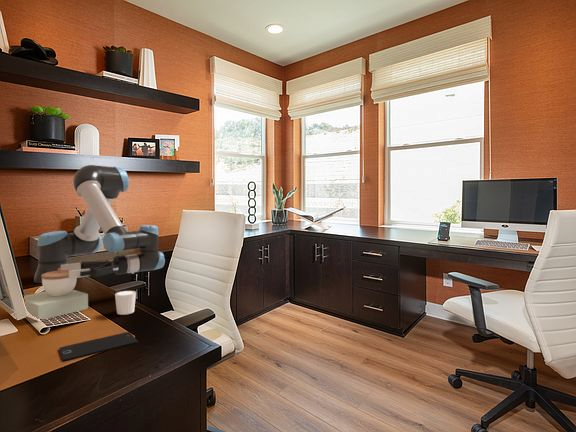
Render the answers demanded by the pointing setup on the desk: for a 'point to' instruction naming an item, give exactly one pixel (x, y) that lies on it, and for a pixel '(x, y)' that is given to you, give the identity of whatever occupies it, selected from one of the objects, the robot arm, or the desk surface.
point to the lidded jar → (58, 282)
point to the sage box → (55, 304)
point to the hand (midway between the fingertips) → (64, 271)
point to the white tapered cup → (125, 302)
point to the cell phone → (96, 346)
